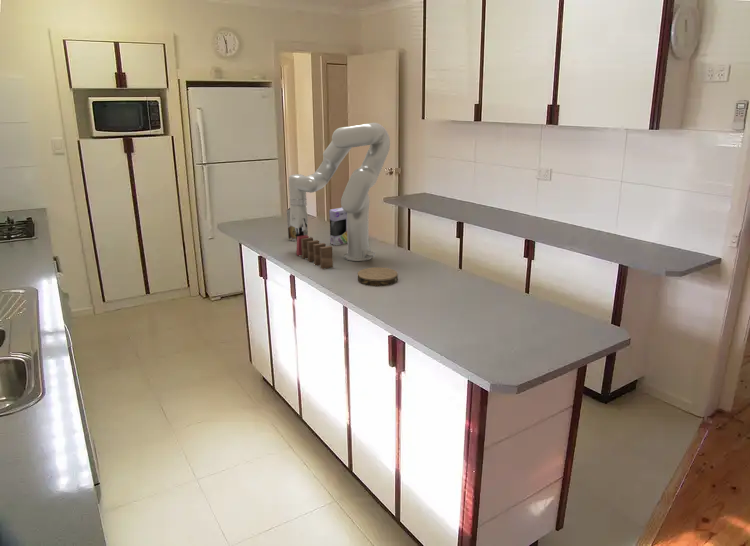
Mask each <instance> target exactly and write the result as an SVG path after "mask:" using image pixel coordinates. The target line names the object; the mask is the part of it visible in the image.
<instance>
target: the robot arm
mask: <svg viewBox="0 0 750 546" xmlns="http://www.w3.org/2000/svg"><path fill="white" fill-rule="evenodd" d="M365 146H369V147H368V150H367V152H366V154H365V157H364V159H363V160H362V162H361V165H360V167H358V168H356V169H355V170H354V171H353V172H352V174H351V175H350V176H349V179H348V181H347V184H346V186H345V188H344V190H343V193H342V196H341V199H340V205H341V207H342V208H343V210H344V211H345V212H347V243H346V244H347V253H345V254H344V255H343V256H344V257H343V258H344V259H345V260H347V261H350V262H366V261H369V260H371V259H372V258H375V257H376V252H375V251H372V250H371V247H369V246H370V245H369V213H370V212H369V211H370V202H371V201H370V195H369V192H370V189H371V188H373V187H374V186H375V185H376V183H377V182H378V178H379V176H380V174H381V171H382V169H383V167H384V164H385V161H386V160H387V157H388V155H389V151H390V146H391V138H390V135H389V133H388V131H387V129H386V127H384V126H383V125H382V124H380V123H379V122H369V123H363V124H359V125H351V126H343V127H338V128H336V129H335V130H334V131H333V133H332V135H331V141H330V143H329V144H328V146H327V147H326V148H325V149H324V151H323V153H322V156H323V159H322V162H321V163H320V165H319V166H318V168H317V169H316V170H315V172H314V173H312V174H310V175H306V176H305V174H301V173H300V174H298V173H297V174H296V173H295V174H290V175H289V176H288V191H289V194H288V195H289V204H290V205H289V208H290V225H291V226H293V227H295V231H296V241H295V242H297V236H303V235H304V231H306V227H307V228H308V225H309V221H308V212H307V211H308V210H306V209H307V205H308V202H307V193H310V194H311V193H315V192H317V191H319V190H322V189H323V188H325V186H326V185H327V184H328V183H329V182H330V180H331V179H332V177H333V176H334V174H335V173H336V171H337V170H338V168H339V166H340V164H341V163H342V162H343V160H344V159H345V157H346V156H347V155H348V153H349V152H350V151H351V149H352V148H358V147H365ZM301 226H302V227H301Z"/></svg>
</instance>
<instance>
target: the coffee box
mask: <svg viewBox="0 0 750 546" xmlns="http://www.w3.org/2000/svg"><path fill="white" fill-rule="evenodd" d="M306 210H307V208H306ZM307 211H308V210H307ZM286 216H287V217H286V219H287V233H288V234H287V235H288V236H287V237H288V241H289V240H292V241H293V242H294V241H295V242H297V241H296V231H295V227H293V226H291V225H290V207H289V208H288V209H286ZM301 227H302V226H301ZM308 232H309V231H308V226H307V227H306V231H304V235H308V236H309V233H308ZM292 241H291V242H292Z"/></svg>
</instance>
